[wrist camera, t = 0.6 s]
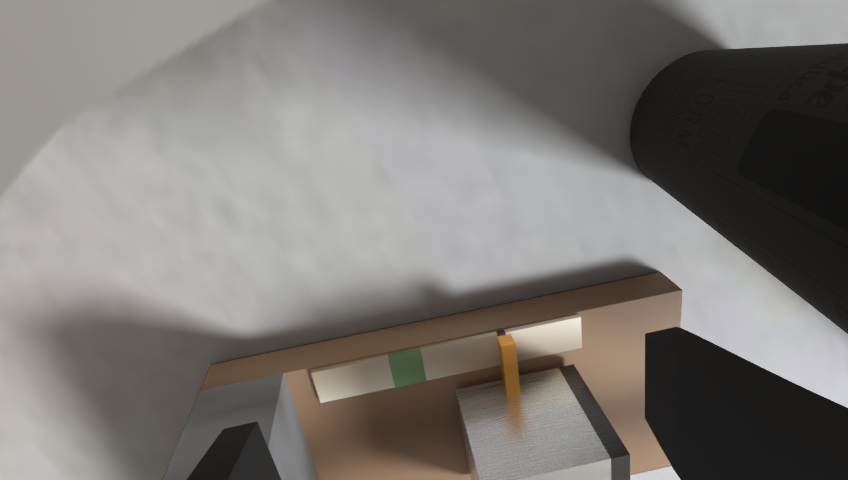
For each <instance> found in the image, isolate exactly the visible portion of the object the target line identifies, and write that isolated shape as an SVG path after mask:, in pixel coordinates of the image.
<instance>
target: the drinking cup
mask: <svg viewBox="0 0 848 480" xmlns="http://www.w3.org/2000/svg"><path fill="white" fill-rule="evenodd" d="M630 140H631V148H632V153H633V156H634V159H635V161H636V163H637V165H638V166H639V168H640V169H641V171H642V172H643V173H644V174H645V175H646V176H647V177H648V178H649V179H650V180H652V181H653V182H654V183H656V184H657V185H658V186H659V187H661V188H662V189H663V190H665V191H666V192H667V193H668V194H670V195H671V196H672V197H674V198H675V199H676V200H677V201H679V202H680V203H681V204H682V205H684V206H685V207H686V208H688V209H689V210H690V211H691V212H693V213H694V214H695V215H697V216H698V217H699V218H700V219H702V220H703V221H704V222H706V223H707V224H708V225H709V226H711V227H712V228H713V229H714V230H716V231H717V232H718V233H720V234H721V235H722V236H723V237H725V238H726V239H727V240H729V241H730V242H731V243H732V244H734V245H735V246H736V247H737V248H739V249H740V250H741V251H743V252H744V253H745V254H746V255H748V256H749V257H750V258H752V259H753V260H754V261H755V262H757V263H758V264H759V265H761V266H762V267H763V268H764V269H766V270H767V271H768V272H769V273H771V274H772V275H773V276H775V277H776V278H777V279H778V280H780V281H781V282H782V283H784V284H785V285H786V286H787V287H789V288H790V289H791V290H793V291H794V292H795V293H796V294H798V295H799V296H800V297H801V298H803V299H804V300H805V301H807V302H808V303H809V304H810V305H812V306H813V307H814V308H816V309H817V310H818V311H819V312H821V313H822V314H823V315H825V316H826V317H827V318H828V319H830V320H831V321H832V322H833V323H835V324H836V325H837V326H839V327H840V328H841V329H842V330H844V331H845V332H846V333H848V44H827V45H807V46H786V47H766V48H745V49H725V50H707V51H700V52H695V53H692V54H689V55H686V56H684V57H682V58H680V59H678V60H676V61H675V62H673V63H672V64H670V65H669V66H667V67H666V68H665V69H664V70H662V71H661V72H660V73H659V74H658V75H657V76H656V77H655V78H654V79H653V80H652V82H651V83H650V84H649V85H648V87H647V88H646V89H645V91H644V93H643V94H642V96H641V98H640V100H639V102H638V104H637V106H636V109H635V112H634V115H633V118H632V123H631V131H630Z"/></svg>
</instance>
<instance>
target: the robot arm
mask: <svg viewBox="0 0 848 480" xmlns="http://www.w3.org/2000/svg"><path fill="white" fill-rule="evenodd" d="M645 419H646V421H647V423H648V425H649V427H650V428H651V430H652V432H653V434H654V436H655V437H656V439H657V441H658V443H659V445H660V447H661V448H662V450H663V452H664V453H665V455H666V457H667V459H668V460H669V462H670V464H671V465H672V467H673V469H674V470H675V472H676V473H677V475H678V476H679V477H680V479H681V480H848V408H846V407H844V406H842V405H840V404H837V403H835V402H833V401H831V400H829V399H826V398H824V397H822V396H820V395H818V394H816V393H813V392H811V391H809V390H807V389H805V388H803V387H801V386H798V385H796V384H794V383H792V382H790V381H788V380H786V379H784V378H782V377H780V376H778V375H776V374H774V373H772V372H769V371H767V370H765V369H763V368H761V367H759V366H757V365H755V364H753V363H751V362H749V361H747V360H745V359H743V358H741V357H739V356H737V355H735V354H733V353H731V352H729V351H727V350H725V349H723V348H721V347H719V346H717V345H715V344H713V343H711V342H709V341H707V340H705V339H703V338H701V337H699V336H697V335H695V334H692V333H690V332H688V331H686V330H684V329H682V328H679V327H672V328H668V329H664V330H659V331H655V332H650V333H646V334H645ZM187 480H281V477H280V475H279V473H278V470H277V468H276V465H275V463H274V461H273V458H272V456H271V453H270V451H269V448H268V446H267V444H266V441H265V439H264V436H263V434H262V432H261V429H260V427H259V424H258V422H257V421H256V422H252V423H247V424H243V425H239V426H234V427H230V428H225V429H223V430H222V432H221V433H220V434H219V435H218V437H217V438H216V439H215V441H214V442H213V444H212V445H211V446H210V448H209V449H208V450H207V452H206V453H205V455H204V456H203V457H202V459H201V460H200V462H199V463H198V464H197V466H196V467H195V469H194V470H193V471H192V473H191V474H190V475H189V477H188V478H187Z"/></svg>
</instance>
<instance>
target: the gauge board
mask: <svg viewBox="0 0 848 480" xmlns="http://www.w3.org/2000/svg"><path fill="white" fill-rule="evenodd" d="M681 304H682V289H680V288H679V287H678V286H677V285H676V284H674V283H673V282H672V281H671V280H670V279H668V278H667V277H666V276H665V275H664V274H662V273H661V272H657V273H652V274H648V275H643V276H638V277H633V278H628V279H623V280H618V281H614V282H609V283H604V284H599V285H594V286H589V287H585V288H580V289H575V290H570V291H565V292H560V293H555V294H551V295H546V296H541V297H536V298H531V299H526V300H522V301H517V302H512V303H507V304H502V305H497V306H492V307H488V308H483V309H478V310H473V311H468V312H463V313H458V314H454V315H449V316H444V317H439V318H434V319H429V320H425V321H420V322H415V323H410V324H405V325H400V326H395V327H391V328H386V329H381V330H376V331H371V332H366V333H362V334H357V335H352V336H347V337H342V338H337V339H332V340H328V341H323V342H318V343H313V344H308V345H303V346H298V347H294V348H289V349H284V350H279V351H274V352H269V353H265V354H260V355H255V356H250V357H245V358H240V359H235V360H231V361H226V362H221V363H216V364H211V365H210V368H209V370H208V372H207V375H206V377H205V380H204V382H203V384H202V387H201V389H200V392H199V394H198V396H197V399H196V401H195V404H194V406H193V408H192V411H191V413H190V415H189V418H188V420H187V423H186V425H185V427H184V430H183V432H182V435H181V437H180V439H179V442H178V444H177V447H176V449H175V451H174V454H173V456H172V458H171V461H170V463H169V466H168V468H167V470H166V473H165V475H164V478H163V480H187V478H188V477H189V475H190V474H191V473H192V471H193V470H194V469H195V467H196V466H197V464H198V463H199V462H200V460H201V459H202V457H203V456H204V455H205V453H206V452H207V450H208V449H209V448H210V446H211V445H212V444H213V442H214V441H215V439H216V438H217V437H218V435H219V434H220V433H221V432H222V430H223V429H225V428H230V427H234V426H239V425H243V424H247V423H252V422H256V421H257V422H258V424H259V427H260V429H261V432H262V434H263V436H264V439H265V441H266V444H267V446H268V448H269V451H270V453H271V456H272V458H273V461H274V463H275V465H276V468H277V470H278V473H279V475H280V477H281V480H471V476H470V470H469V464H468V459H467V453H466V447H465V441H464V435H463V430H462V424H461V418H460V412H459V406H458V401H457V395H456V389H460V388H464V387H469V386H474V385H478V384H483V383H488V382H492V381H497V380H502V374H501V366H500V358H499V349H498V341H497V337H498V336H503V335H507V334H511V336H512V338H513V340H514V342H515V344H516V354H517V363H518V373H519V376H521V375H525V374H530V373H535V372H539V371H544V370H549V369H553V368H558V367H563V366H568V365H572V364H574V366H575V367H576V369H577V370H578V372H579V374H580V375H581V377H582V378H583V380H584V382H585V383H586V385H587V386H588V388H589V390H590V391H591V393H592V394H593V396H594V398H595V399H596V401H597V402H598V404H599V406H600V407H601V409H602V410H603V412H604V414H605V415H606V417H607V418H608V420H609V422H610V423H611V425H612V426H613V428H614V430H615V431H616V433H617V434H618V436H619V437H620V439H621V441H622V442H623V444H624V445H625V447H626V449H627V450H628V452H629V453H630V475H634V474H638V473H642V472H647V471H651V470H656V469H660V468H665V467H669V466H672V465H671V464H670V462H669V460H668V459H667V457H666V455H665V453H664V452H663V450H662V448H661V447H660V445H659V443H658V441H657V439H656V437H655V436H654V434H653V432H652V430H651V428H650V427H649V425H648V423H647V421H646V419H645V334H646V333H650V332H655V331H659V330H664V329H668V328H672V327H679V328H680V321H681Z"/></svg>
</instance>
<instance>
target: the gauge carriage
mask: <svg viewBox="0 0 848 480" xmlns="http://www.w3.org/2000/svg"><path fill="white" fill-rule="evenodd" d="M497 341H498V349H499V358H500V366H501V374H502V380H497V381H492V382H488V383H483V384H478V385H474V386H469V387H464V388H460V389H456V395H457V401H458V406H459V412H460V418H461V424H462V430H463V435H464V441H465V447H466V453H467V459H468V464H469V470H470V476H471V480H630V453H629V452H628V450H627V449H626V447H625V445H624V444H623V442H622V441H621V439H620V437H619V436H618V434H617V433H616V431H615V430H614V428H613V426H612V425H611V423H610V422H609V420H608V418H607V417H606V415H605V414H604V412H603V410H602V409H601V407H600V406H599V404H598V402H597V401H596V399H595V398H594V396H593V394H592V393H591V391H590V390H589V388H588V386H587V385H586V383H585V382H584V380H583V378H582V377H581V375H580V374H579V372H578V370H577V369H576V367H575V366H574V364H572V365H568V366H563V367H558V368H553V369H549V370H544V371H539V372H535V373H530V374H525V375H521V376H519V373H518V363H517V354H516V344H515V342H514V340H513V338H512V336H511V334H507V335H503V336H498V337H497Z"/></svg>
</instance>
